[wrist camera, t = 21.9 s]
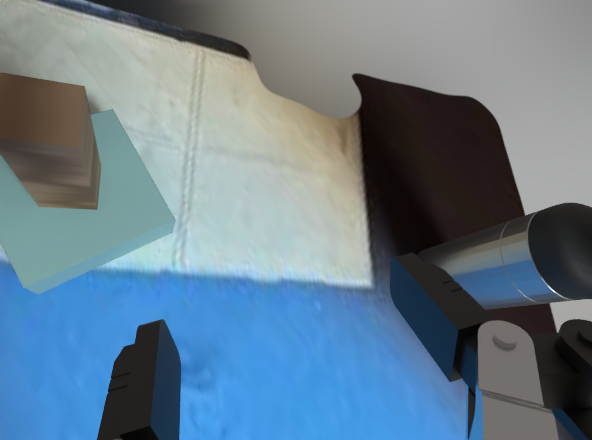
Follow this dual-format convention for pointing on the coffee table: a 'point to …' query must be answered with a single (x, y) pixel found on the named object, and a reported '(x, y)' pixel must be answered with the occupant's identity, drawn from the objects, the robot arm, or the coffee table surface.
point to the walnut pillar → (50, 141)
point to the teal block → (83, 216)
